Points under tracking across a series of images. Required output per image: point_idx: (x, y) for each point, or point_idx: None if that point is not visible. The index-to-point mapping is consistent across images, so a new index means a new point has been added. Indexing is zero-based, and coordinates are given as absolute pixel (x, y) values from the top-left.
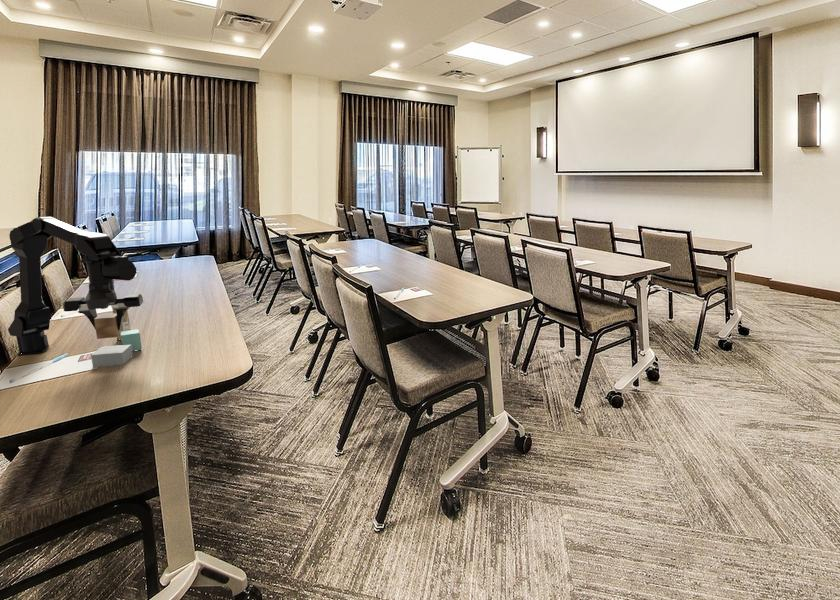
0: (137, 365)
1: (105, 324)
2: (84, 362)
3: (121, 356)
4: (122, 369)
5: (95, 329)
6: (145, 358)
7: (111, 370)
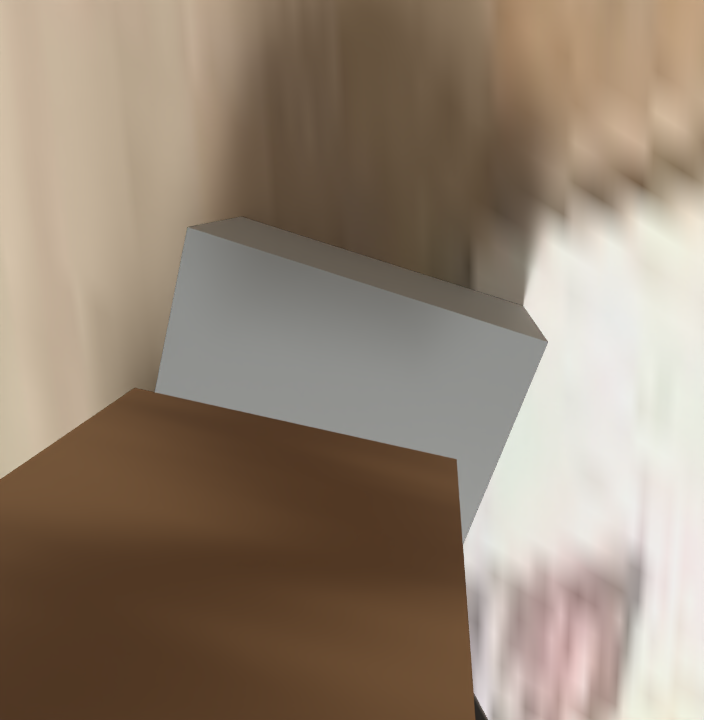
0: (111, 116)
1: (175, 607)
2: (593, 508)
3: (219, 229)
4: (242, 49)
5: (474, 698)
6: (67, 320)
7: (347, 75)
